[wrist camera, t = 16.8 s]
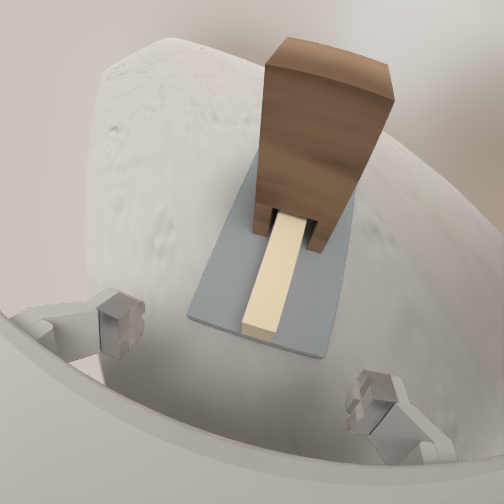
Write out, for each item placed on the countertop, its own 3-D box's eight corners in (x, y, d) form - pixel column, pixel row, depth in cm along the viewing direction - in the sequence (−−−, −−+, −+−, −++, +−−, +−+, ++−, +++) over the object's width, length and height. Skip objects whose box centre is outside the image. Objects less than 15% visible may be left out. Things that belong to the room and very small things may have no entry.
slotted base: (265, 141, 29) (268, 106, 25) (354, 166, 28) (368, 134, 24) (189, 319, 20) (176, 299, 16) (320, 359, 19) (341, 350, 15)
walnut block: (268, 191, 24) (287, 36, 12) (330, 209, 24) (387, 64, 11) (252, 233, 22) (265, 64, 10) (321, 253, 22) (394, 100, 9)
